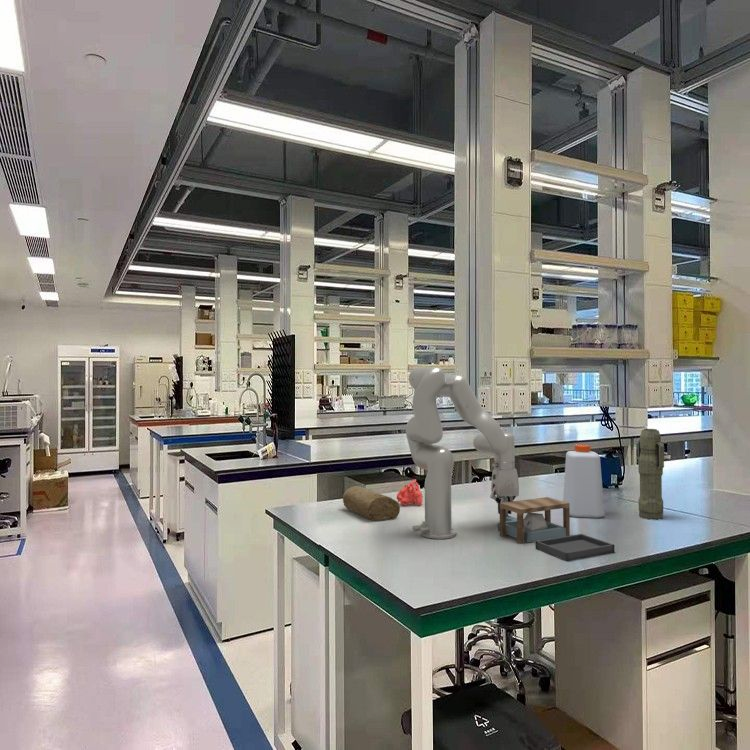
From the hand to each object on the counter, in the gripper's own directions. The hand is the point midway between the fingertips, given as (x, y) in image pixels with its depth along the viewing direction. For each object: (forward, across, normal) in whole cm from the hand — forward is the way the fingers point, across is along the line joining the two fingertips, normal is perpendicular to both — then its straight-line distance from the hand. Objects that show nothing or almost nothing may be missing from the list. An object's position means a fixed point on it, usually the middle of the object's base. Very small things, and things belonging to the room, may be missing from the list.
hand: (504, 513), depth 214 cm
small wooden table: (+4, 0, -17) cm, 17 cm away
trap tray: (+4, 0, -36) cm, 36 cm away
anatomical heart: (+4, -18, +44) cm, 48 cm away
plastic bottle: (+4, +39, 0) cm, 39 cm away
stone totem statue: (+4, +59, -16) cm, 61 cm away
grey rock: (+4, 0, -17) cm, 17 cm away
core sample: (+5, -40, +37) cm, 55 cm away
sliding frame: (+4, 0, -11) cm, 12 cm away
